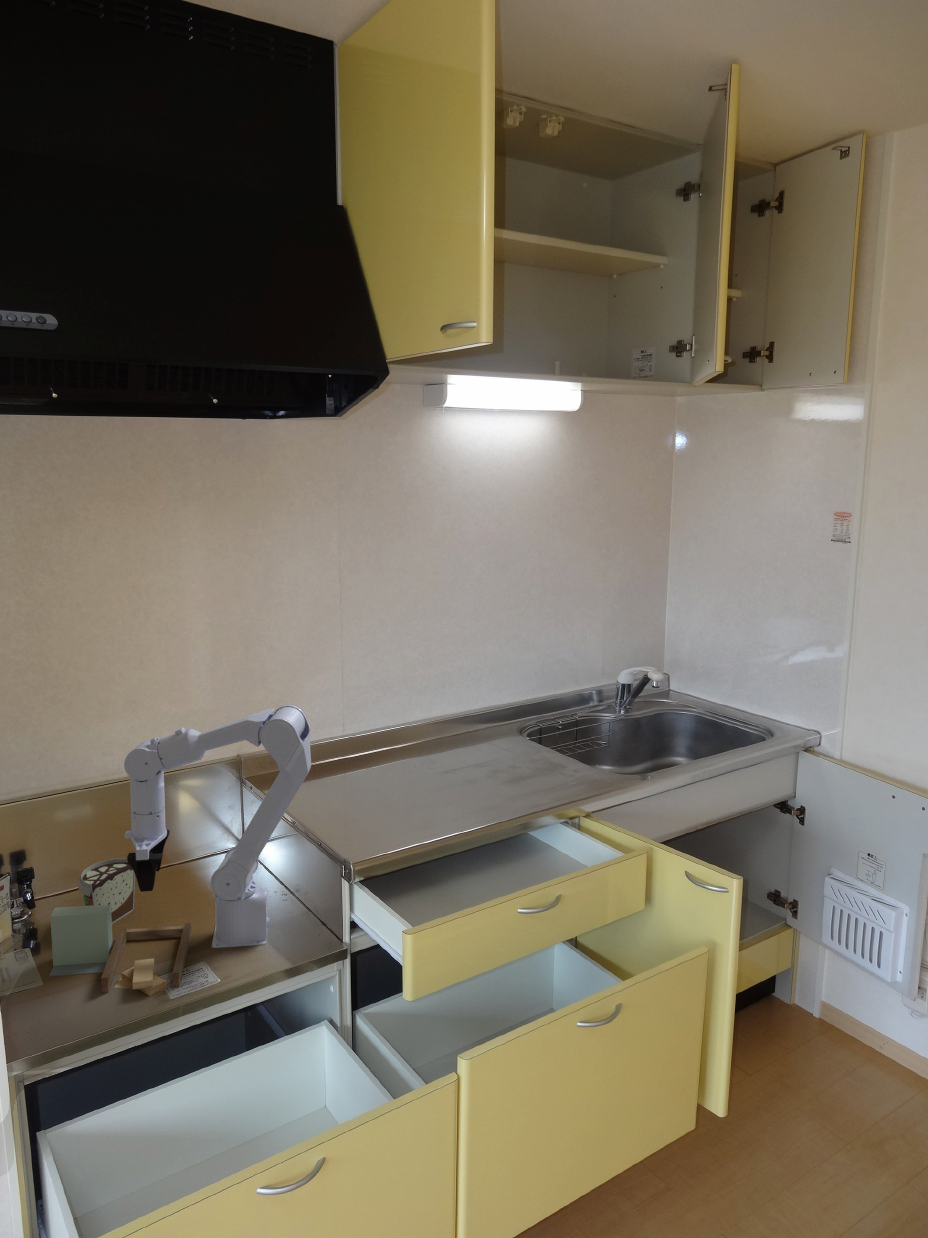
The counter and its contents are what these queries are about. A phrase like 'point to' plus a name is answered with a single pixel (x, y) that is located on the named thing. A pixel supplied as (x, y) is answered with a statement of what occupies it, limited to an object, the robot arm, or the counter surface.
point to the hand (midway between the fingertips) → (150, 880)
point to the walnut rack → (144, 934)
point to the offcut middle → (157, 986)
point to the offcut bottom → (125, 985)
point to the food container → (109, 886)
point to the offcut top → (143, 973)
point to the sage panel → (81, 934)
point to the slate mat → (78, 969)
